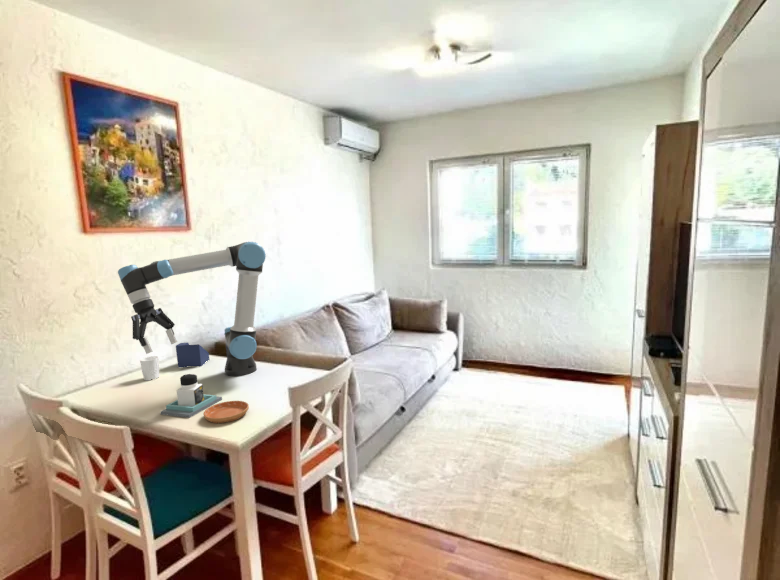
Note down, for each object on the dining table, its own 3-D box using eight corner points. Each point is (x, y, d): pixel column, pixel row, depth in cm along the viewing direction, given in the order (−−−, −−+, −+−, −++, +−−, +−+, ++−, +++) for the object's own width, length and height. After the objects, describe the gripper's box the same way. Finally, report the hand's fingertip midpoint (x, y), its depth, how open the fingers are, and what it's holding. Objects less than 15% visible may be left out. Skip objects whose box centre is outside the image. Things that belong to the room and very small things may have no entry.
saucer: (217, 429, 151) (216, 421, 151) (196, 418, 162) (195, 411, 161) (257, 413, 163) (256, 406, 163) (235, 404, 174) (234, 397, 173)
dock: (194, 397, 183) (194, 391, 183) (222, 399, 179) (221, 393, 179) (160, 414, 167) (159, 407, 166) (189, 417, 162) (188, 410, 162)
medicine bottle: (196, 407, 169) (192, 377, 167) (178, 407, 169) (174, 378, 168) (204, 400, 176) (201, 371, 174) (187, 400, 176) (184, 372, 175)
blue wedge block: (209, 359, 240) (207, 338, 239) (201, 366, 229) (198, 344, 227) (187, 361, 240) (185, 340, 238) (178, 367, 228) (175, 345, 226)
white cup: (164, 375, 216) (161, 356, 215) (154, 380, 208) (151, 360, 207) (149, 375, 217) (146, 356, 215) (138, 381, 209) (136, 361, 207)
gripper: (158, 298, 194) (177, 342, 195) (109, 310, 170) (131, 360, 171) (170, 293, 191) (189, 337, 193) (122, 304, 168) (144, 354, 169)
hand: (162, 347), depth 182 cm, fingers open, 13 cm apart
